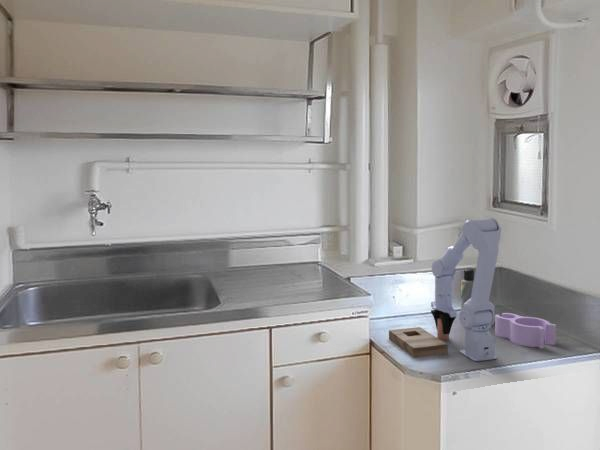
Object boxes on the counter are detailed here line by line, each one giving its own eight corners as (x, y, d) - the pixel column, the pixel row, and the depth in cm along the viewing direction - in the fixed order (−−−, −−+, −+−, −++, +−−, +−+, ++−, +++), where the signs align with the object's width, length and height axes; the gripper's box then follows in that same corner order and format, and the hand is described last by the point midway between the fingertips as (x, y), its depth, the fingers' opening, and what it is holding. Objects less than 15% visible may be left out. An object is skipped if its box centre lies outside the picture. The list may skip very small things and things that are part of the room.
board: (447, 353, 178) (447, 344, 177) (413, 357, 175) (413, 348, 174) (419, 335, 197) (419, 327, 196) (388, 338, 194) (388, 330, 194)
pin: (451, 339, 191) (451, 320, 190) (440, 340, 190) (440, 321, 189) (445, 336, 195) (445, 317, 194) (435, 337, 194) (435, 318, 193)
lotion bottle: (478, 317, 217) (479, 268, 215) (471, 320, 213) (472, 270, 211) (465, 315, 221) (465, 266, 219) (458, 318, 217) (458, 268, 215)
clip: (487, 335, 195) (487, 316, 195) (509, 329, 202) (510, 311, 201) (537, 350, 179) (538, 330, 178) (560, 343, 185) (560, 323, 184)
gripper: (423, 290, 197) (423, 327, 198) (443, 299, 183) (443, 339, 184) (441, 289, 198) (440, 325, 200) (462, 298, 184) (461, 337, 186)
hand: (443, 331), depth 192 cm, fingers closed on pin, 4 cm apart
